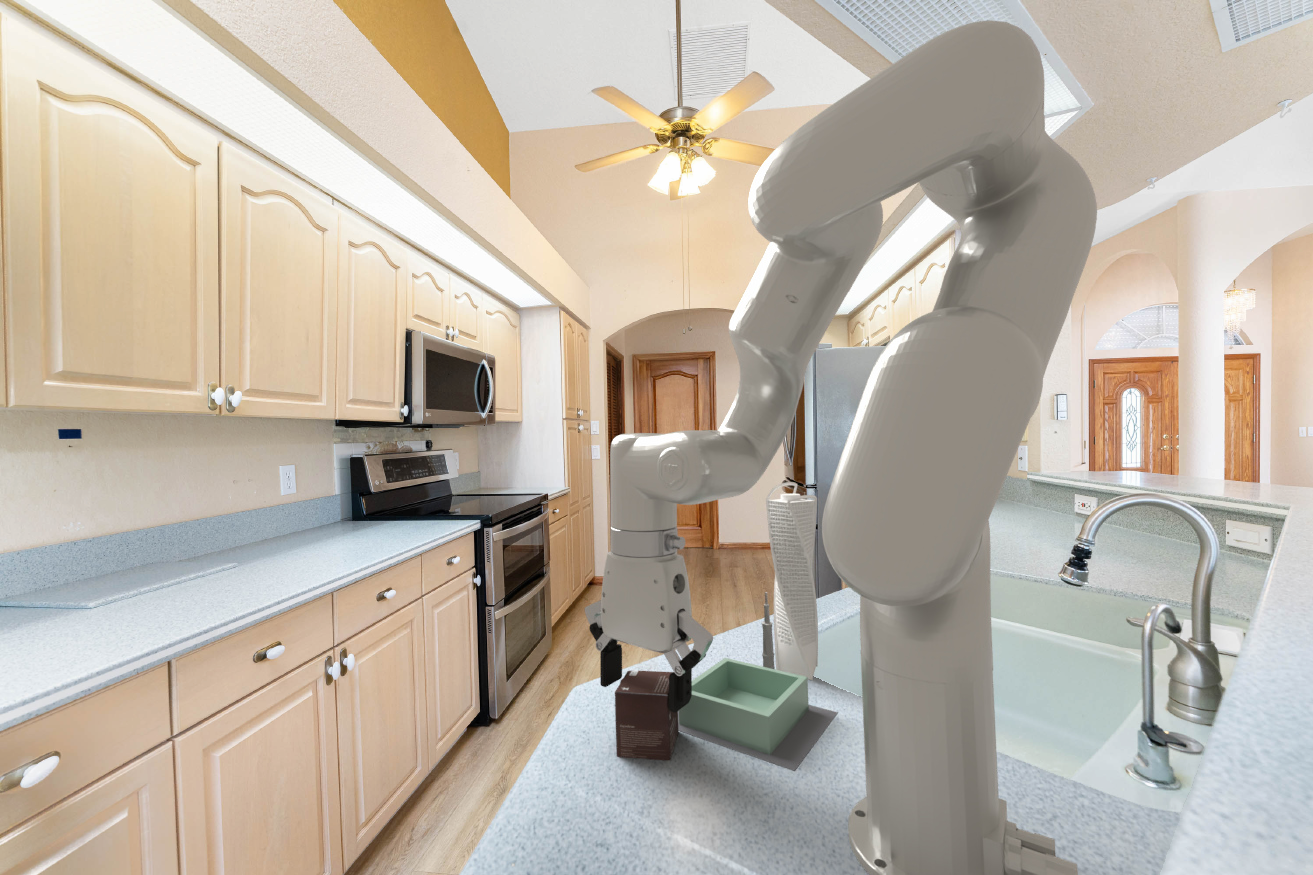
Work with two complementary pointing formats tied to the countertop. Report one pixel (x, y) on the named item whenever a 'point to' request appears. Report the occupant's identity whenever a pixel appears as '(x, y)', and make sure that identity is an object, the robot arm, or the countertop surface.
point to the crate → (746, 704)
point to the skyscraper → (792, 585)
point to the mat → (790, 747)
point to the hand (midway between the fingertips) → (644, 693)
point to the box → (645, 716)
